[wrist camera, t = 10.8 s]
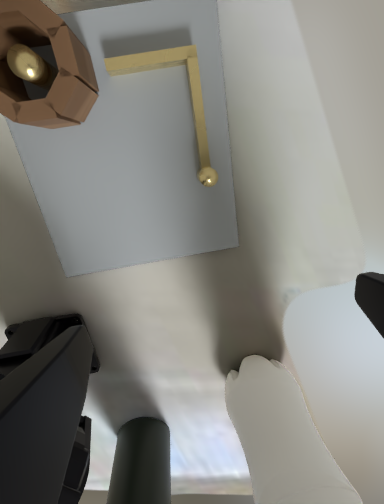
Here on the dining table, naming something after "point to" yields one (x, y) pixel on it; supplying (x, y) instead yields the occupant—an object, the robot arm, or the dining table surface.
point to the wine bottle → (141, 464)
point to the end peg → (31, 66)
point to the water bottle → (282, 438)
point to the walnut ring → (68, 61)
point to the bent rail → (190, 59)
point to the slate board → (135, 145)
